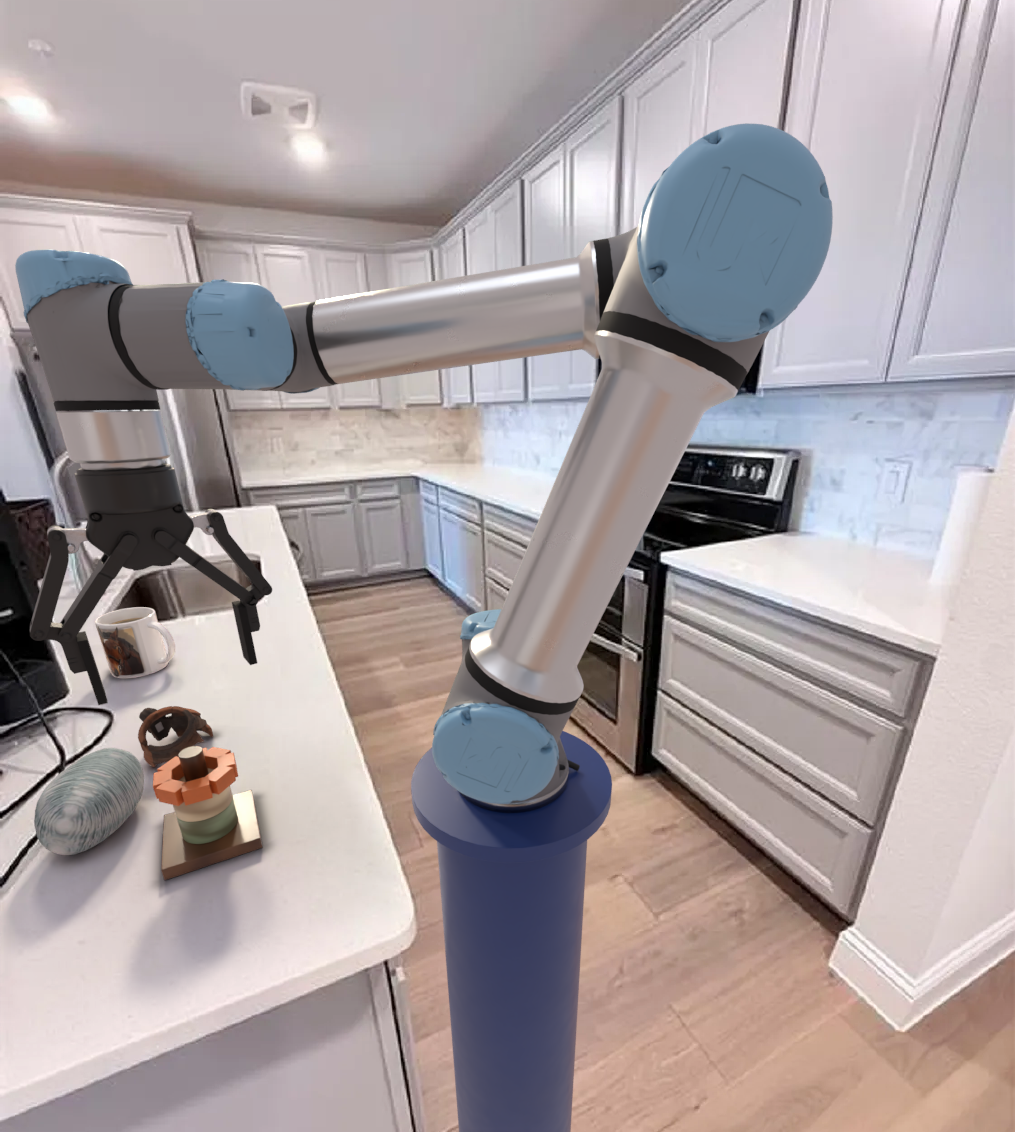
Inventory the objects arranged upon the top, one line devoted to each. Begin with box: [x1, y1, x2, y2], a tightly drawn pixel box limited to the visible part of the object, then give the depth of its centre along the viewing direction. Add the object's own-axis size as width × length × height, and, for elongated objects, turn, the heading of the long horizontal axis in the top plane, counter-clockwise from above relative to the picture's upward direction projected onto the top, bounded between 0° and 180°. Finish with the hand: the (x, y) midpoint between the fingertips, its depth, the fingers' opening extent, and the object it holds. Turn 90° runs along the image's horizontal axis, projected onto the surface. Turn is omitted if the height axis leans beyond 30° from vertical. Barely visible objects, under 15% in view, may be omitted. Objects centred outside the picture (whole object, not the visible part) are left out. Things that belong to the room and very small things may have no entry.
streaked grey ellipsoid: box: [33, 747, 145, 856], centre depth 67 cm, size 14×10×10 cm
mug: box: [94, 606, 176, 679], centre depth 107 cm, size 10×12×11 cm
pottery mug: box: [137, 705, 214, 768], centre depth 82 cm, size 12×10×8 cm
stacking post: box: [160, 745, 263, 881], centre depth 64 cm, size 10×10×12 cm
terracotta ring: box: [152, 746, 239, 806], centre depth 63 cm, size 8×8×2 cm
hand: (181, 678), depth 57 cm, fingers open, 13 cm apart
